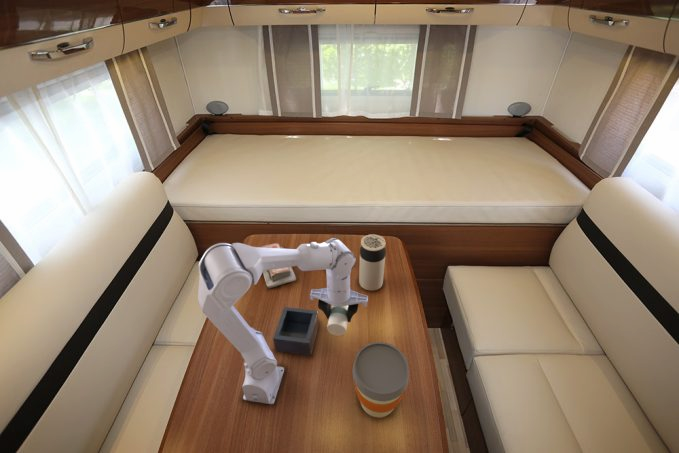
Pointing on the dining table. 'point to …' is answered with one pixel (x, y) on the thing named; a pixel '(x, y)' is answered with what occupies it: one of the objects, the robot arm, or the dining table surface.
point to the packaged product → (278, 272)
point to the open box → (296, 331)
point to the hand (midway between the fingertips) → (339, 317)
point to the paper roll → (338, 320)
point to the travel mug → (372, 262)
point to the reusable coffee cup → (380, 377)
